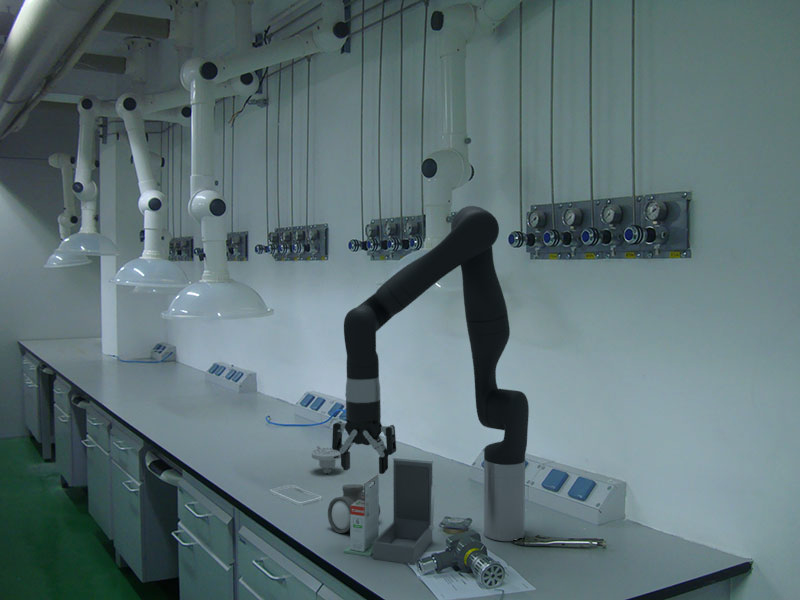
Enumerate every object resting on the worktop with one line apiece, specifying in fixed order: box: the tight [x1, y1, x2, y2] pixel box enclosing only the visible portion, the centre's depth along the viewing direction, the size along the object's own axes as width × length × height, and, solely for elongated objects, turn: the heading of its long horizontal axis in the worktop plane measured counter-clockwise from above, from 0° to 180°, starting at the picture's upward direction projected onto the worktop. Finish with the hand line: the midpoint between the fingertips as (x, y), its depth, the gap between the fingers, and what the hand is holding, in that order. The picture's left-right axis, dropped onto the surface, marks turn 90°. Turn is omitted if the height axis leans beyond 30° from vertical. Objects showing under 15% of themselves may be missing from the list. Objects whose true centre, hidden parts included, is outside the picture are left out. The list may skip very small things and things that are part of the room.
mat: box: [343, 544, 373, 557], centre depth 148 cm, size 9×6×1 cm, turn 161°
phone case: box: [269, 484, 323, 507], centre depth 183 cm, size 7×1×15 cm
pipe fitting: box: [327, 483, 381, 534], centre depth 161 cm, size 12×8×10 cm, turn 137°
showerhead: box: [311, 445, 341, 474], centre depth 206 cm, size 9×7×10 cm
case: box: [372, 456, 436, 565], centre depth 146 cm, size 14×10×18 cm
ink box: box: [349, 474, 380, 552], centre depth 148 cm, size 4×8×15 cm, turn 159°
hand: (364, 471), depth 149 cm, fingers open, 8 cm apart
